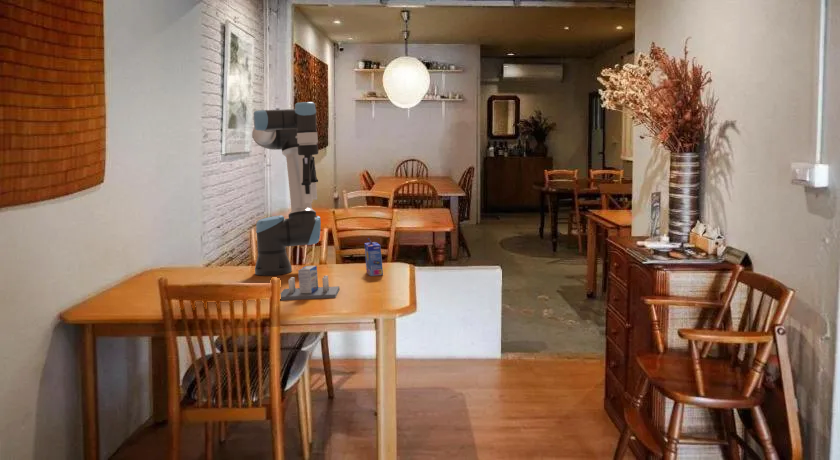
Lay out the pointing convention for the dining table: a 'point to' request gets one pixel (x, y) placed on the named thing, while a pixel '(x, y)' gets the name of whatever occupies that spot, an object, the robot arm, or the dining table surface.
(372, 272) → the ink cartridge box
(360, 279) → the dining table surface
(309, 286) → the medicine box
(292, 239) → the robot arm
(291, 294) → the cradle
